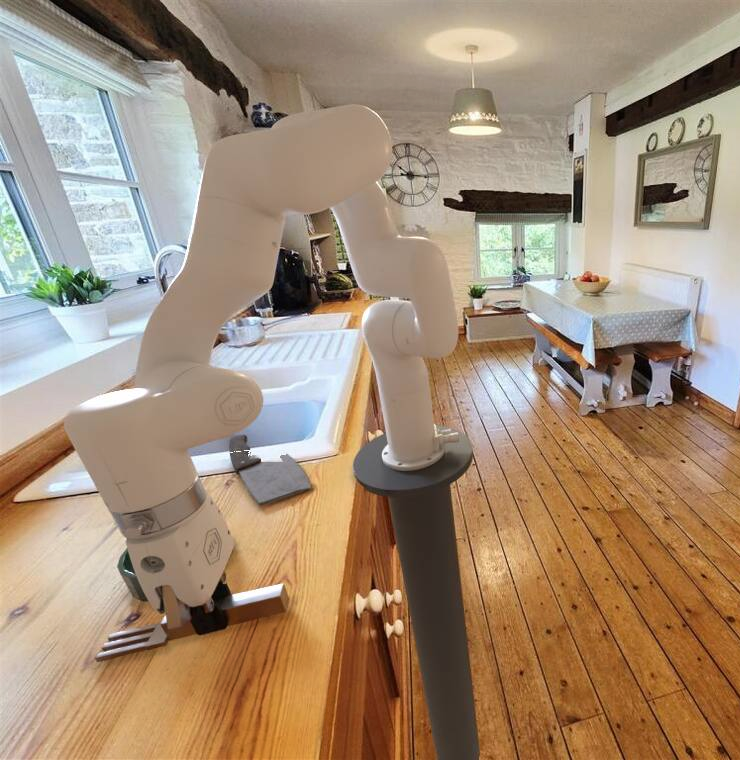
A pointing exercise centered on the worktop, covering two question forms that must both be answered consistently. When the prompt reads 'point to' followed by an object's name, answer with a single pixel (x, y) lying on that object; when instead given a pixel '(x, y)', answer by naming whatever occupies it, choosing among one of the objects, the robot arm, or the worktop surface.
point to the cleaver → (267, 474)
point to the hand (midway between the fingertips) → (217, 619)
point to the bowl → (132, 576)
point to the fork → (158, 634)
